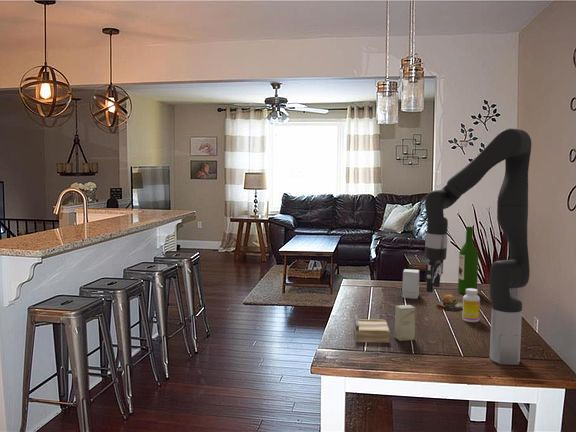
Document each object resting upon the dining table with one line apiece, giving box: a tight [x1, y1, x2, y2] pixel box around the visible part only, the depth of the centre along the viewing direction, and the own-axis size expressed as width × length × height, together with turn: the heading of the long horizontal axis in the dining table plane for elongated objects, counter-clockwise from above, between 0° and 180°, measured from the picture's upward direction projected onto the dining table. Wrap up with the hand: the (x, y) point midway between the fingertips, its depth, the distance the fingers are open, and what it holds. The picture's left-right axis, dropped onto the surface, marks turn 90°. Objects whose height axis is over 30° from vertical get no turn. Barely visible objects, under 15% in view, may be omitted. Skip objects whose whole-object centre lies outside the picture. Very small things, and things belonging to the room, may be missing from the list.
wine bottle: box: [457, 226, 479, 295], centre depth 268 cm, size 9×9×32 cm
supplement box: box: [401, 268, 420, 300], centre depth 262 cm, size 7×7×13 cm
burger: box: [436, 292, 463, 312], centre depth 244 cm, size 12×12×8 cm
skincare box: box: [394, 304, 416, 342], centre depth 201 cm, size 6×4×12 cm
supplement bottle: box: [461, 288, 481, 323], centre depth 223 cm, size 7×7×13 cm
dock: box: [353, 314, 391, 344], centre depth 204 cm, size 14×12×6 cm
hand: (433, 289), depth 198 cm, fingers open, 8 cm apart
